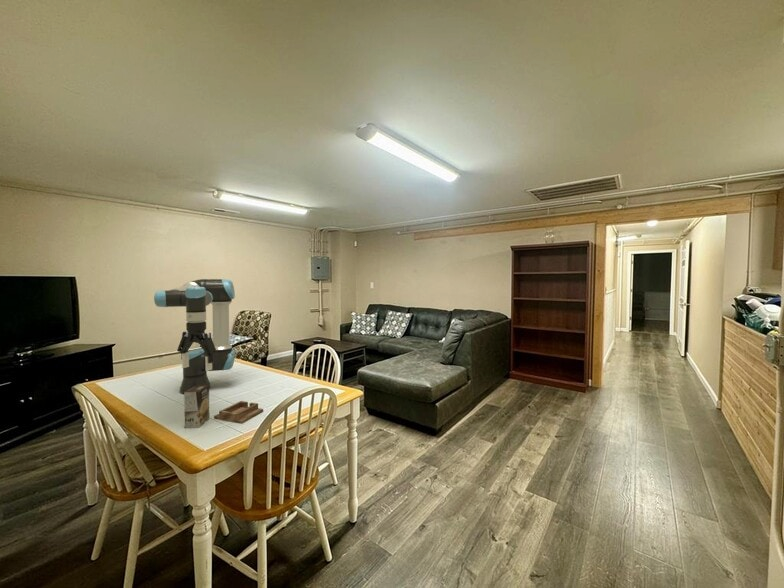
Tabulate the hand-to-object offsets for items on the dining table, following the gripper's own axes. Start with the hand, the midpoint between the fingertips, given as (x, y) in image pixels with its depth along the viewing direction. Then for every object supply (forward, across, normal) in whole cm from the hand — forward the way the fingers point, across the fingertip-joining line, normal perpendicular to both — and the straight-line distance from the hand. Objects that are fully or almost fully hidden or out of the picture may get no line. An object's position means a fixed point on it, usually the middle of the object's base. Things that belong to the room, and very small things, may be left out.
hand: (197, 368), depth 140 cm
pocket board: (+25, +11, +13) cm, 30 cm away
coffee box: (+25, 0, 0) cm, 25 cm away
